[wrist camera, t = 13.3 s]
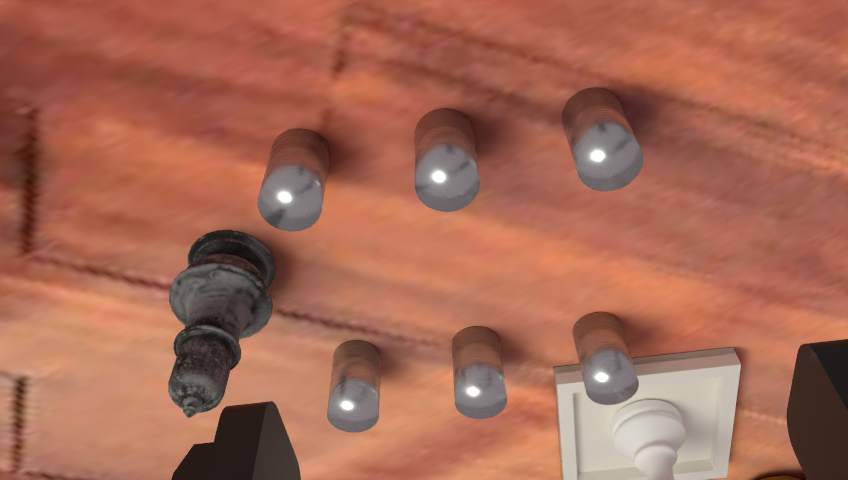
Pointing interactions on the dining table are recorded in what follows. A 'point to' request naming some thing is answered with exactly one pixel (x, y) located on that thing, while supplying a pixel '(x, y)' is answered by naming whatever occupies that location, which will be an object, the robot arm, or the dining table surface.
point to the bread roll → (781, 478)
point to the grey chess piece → (217, 314)
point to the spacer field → (449, 191)
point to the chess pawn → (649, 436)
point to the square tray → (658, 380)
